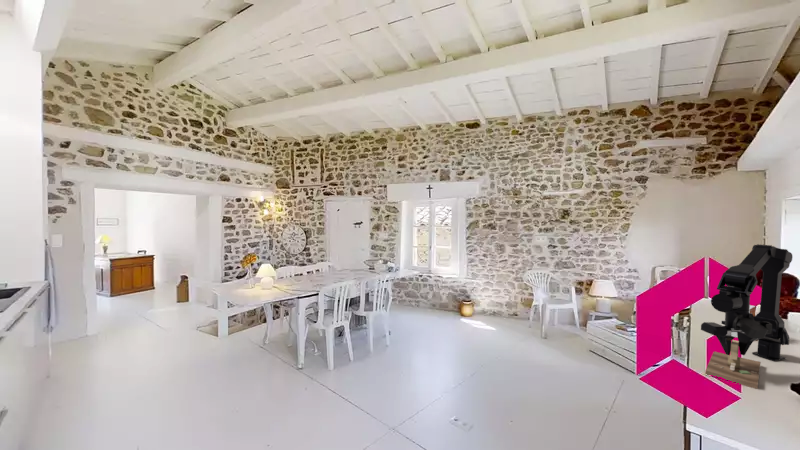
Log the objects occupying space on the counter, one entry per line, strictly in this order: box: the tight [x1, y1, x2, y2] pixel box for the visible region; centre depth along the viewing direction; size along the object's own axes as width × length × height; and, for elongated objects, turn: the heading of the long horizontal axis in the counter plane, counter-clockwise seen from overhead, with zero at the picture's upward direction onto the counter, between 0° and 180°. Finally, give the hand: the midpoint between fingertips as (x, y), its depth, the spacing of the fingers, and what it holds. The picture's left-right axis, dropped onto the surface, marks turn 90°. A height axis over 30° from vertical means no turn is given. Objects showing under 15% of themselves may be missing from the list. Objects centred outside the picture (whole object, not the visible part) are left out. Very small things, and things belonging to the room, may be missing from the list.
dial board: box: [704, 351, 761, 390], centre depth 119 cm, size 22×12×2 cm, turn 133°
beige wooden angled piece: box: [728, 339, 740, 370], centre depth 117 cm, size 8×3×8 cm, turn 133°
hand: (735, 354), depth 118 cm, fingers closed on beige wooden angled piece, 4 cm apart
